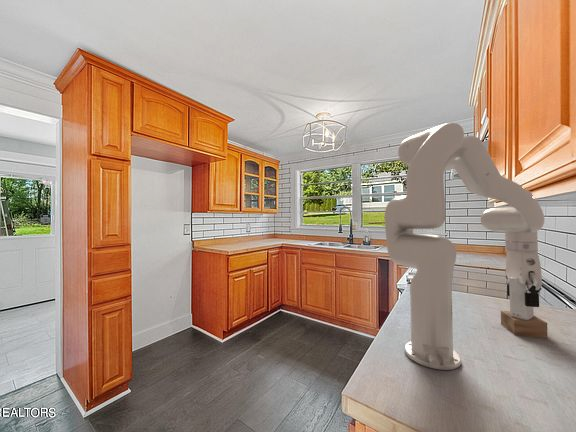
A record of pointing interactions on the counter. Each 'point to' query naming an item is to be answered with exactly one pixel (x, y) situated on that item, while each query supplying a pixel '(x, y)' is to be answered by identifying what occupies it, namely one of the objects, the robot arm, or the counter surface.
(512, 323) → the brown wooden block
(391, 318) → the counter surface
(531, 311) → the skincare box
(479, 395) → the counter surface
